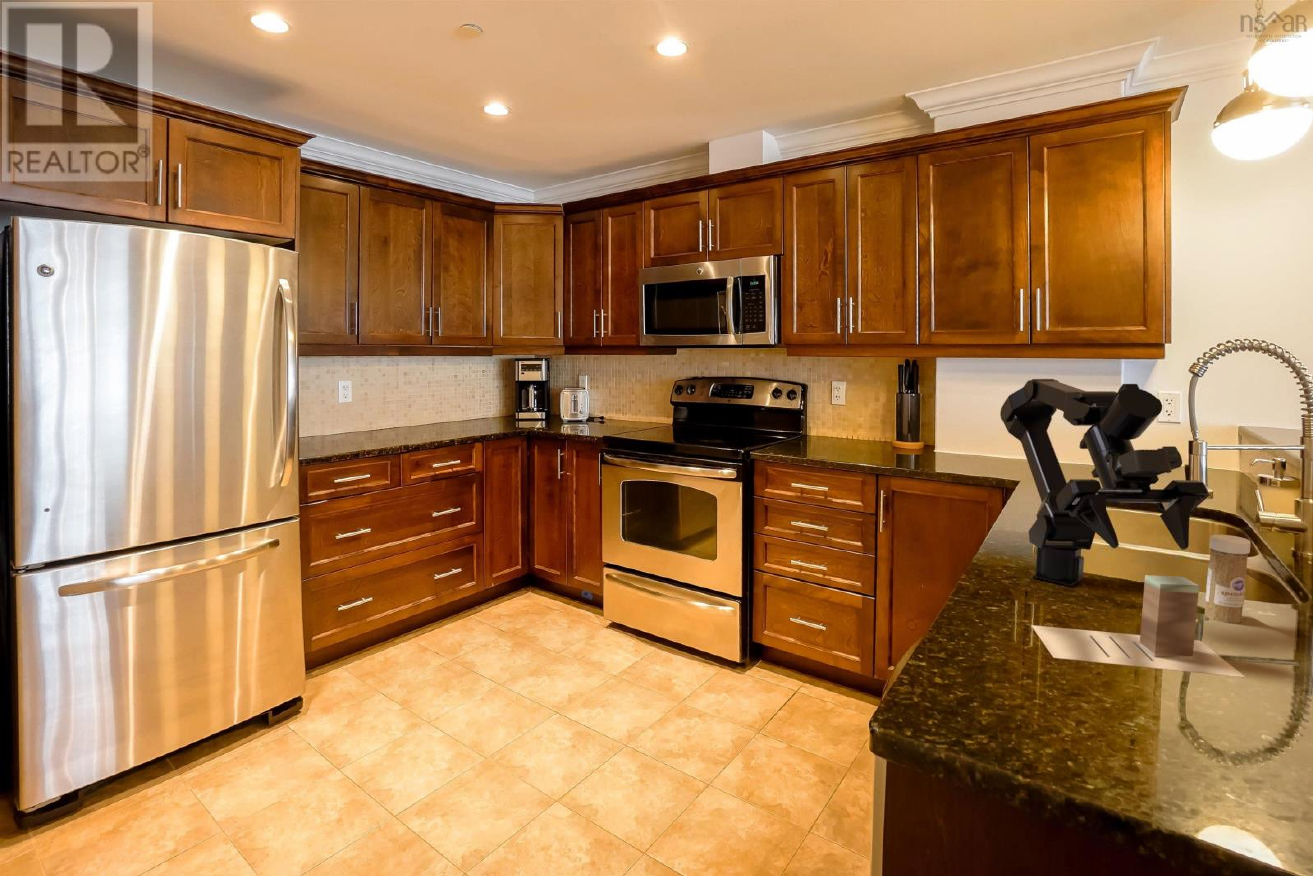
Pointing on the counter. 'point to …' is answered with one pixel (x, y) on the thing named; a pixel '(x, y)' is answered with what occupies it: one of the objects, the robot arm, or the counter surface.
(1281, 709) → the counter surface
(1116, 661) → the birch board
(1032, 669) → the counter surface
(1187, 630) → the block
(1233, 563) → the sprinkles bottle
